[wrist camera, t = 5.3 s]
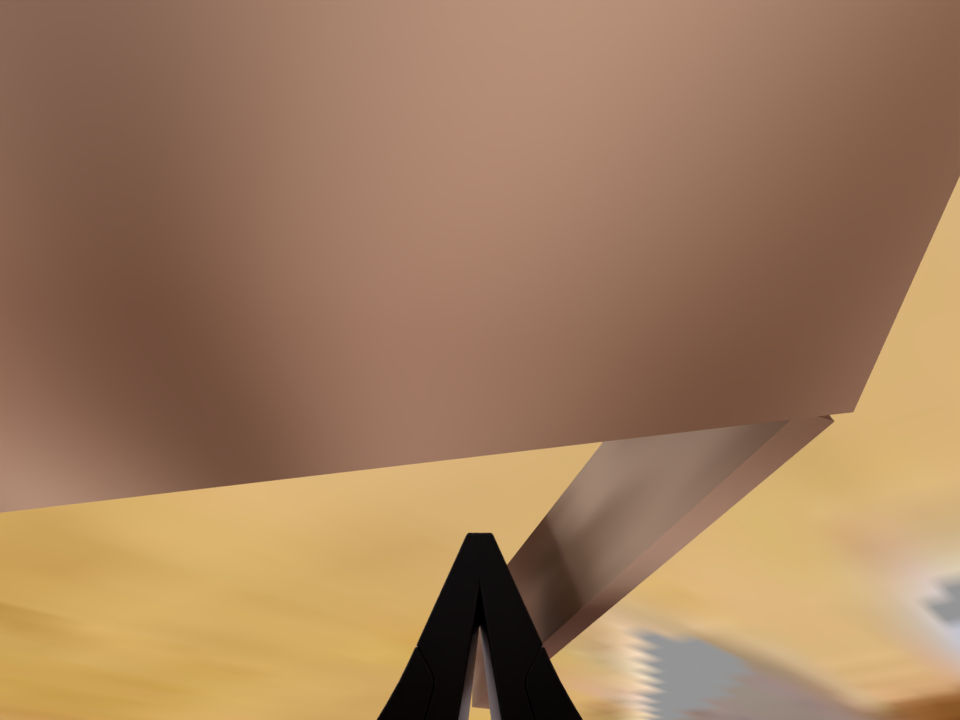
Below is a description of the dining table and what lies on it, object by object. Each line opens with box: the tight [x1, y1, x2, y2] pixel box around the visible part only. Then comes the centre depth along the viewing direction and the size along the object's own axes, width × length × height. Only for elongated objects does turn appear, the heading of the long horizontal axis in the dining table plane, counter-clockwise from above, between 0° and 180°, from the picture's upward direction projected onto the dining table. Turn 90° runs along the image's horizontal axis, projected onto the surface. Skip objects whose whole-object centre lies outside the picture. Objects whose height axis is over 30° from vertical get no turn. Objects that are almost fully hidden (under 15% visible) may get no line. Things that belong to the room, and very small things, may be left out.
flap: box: [472, 415, 835, 709], centre depth 12 cm, size 14×1×3 cm, turn 160°
